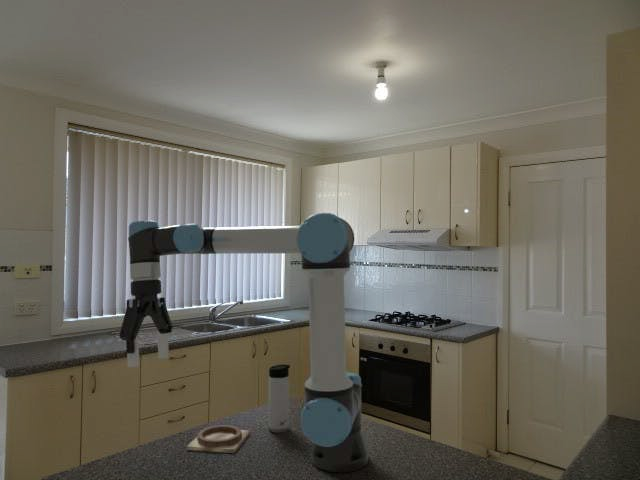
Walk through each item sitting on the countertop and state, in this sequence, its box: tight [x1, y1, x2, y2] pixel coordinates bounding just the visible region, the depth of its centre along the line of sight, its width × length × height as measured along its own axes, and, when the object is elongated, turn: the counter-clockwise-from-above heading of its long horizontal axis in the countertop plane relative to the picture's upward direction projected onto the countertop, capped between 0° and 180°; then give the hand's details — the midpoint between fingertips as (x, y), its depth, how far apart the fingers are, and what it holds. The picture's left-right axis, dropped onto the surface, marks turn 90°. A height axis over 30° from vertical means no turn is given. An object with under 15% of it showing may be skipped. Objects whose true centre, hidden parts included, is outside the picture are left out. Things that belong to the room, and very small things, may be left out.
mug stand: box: [186, 424, 251, 454], centre depth 138 cm, size 14×14×2 cm
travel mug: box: [268, 364, 291, 434], centre depth 148 cm, size 6×7×20 cm
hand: (149, 362), depth 122 cm, fingers open, 13 cm apart
